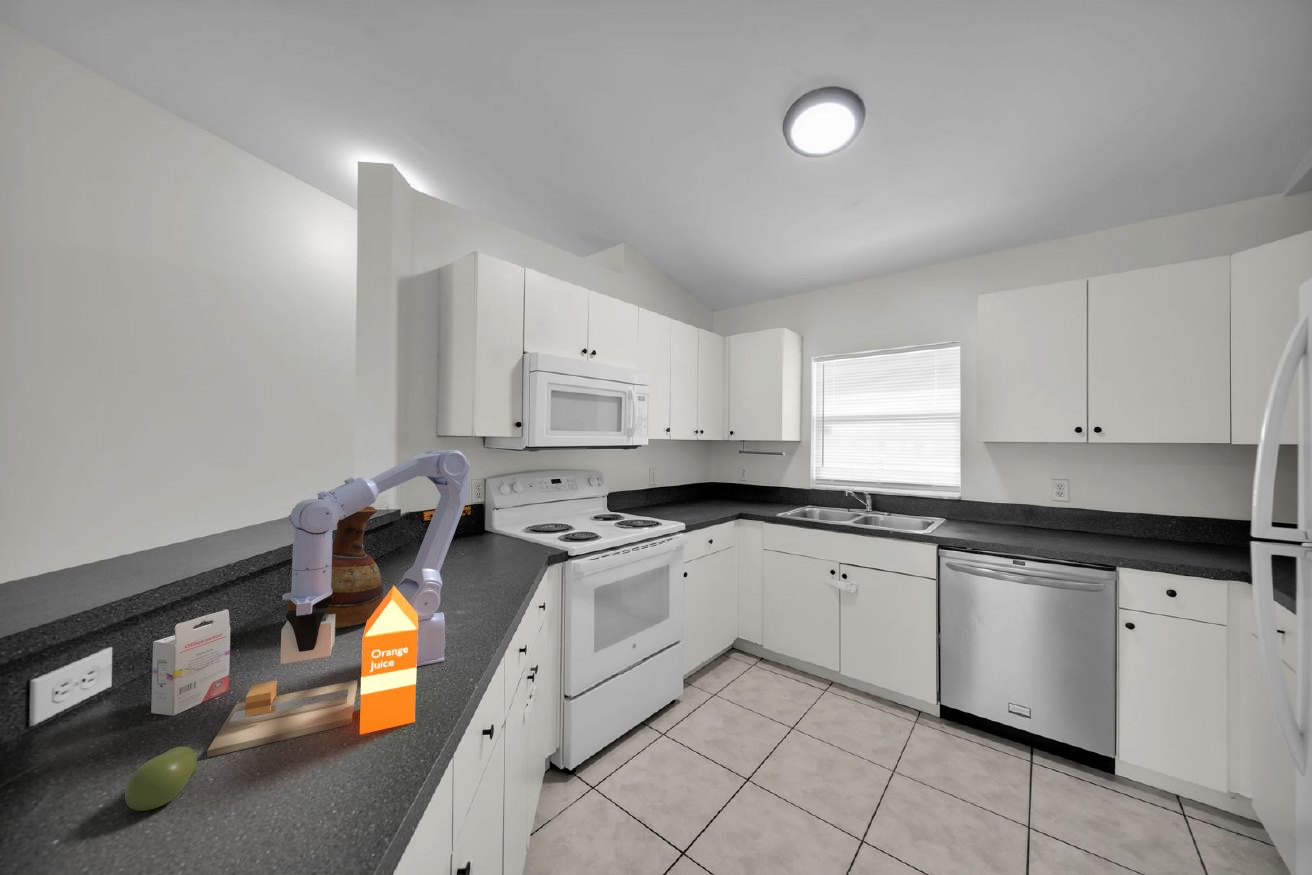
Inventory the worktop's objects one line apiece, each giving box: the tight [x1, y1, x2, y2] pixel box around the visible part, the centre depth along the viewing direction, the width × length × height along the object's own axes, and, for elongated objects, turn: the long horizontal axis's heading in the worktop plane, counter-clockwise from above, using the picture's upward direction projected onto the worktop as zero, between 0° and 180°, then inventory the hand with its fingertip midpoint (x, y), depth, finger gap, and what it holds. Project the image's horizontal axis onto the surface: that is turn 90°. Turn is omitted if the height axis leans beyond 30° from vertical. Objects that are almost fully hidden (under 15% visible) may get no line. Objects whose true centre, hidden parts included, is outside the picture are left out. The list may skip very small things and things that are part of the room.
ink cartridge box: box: [150, 609, 231, 717], centre depth 80 cm, size 9×5×15 cm, turn 168°
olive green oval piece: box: [124, 746, 198, 812], centre depth 59 cm, size 6×5×10 cm
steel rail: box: [229, 689, 349, 728], centre depth 76 cm, size 15×3×1 cm, turn 119°
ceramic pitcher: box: [286, 505, 384, 629], centre depth 117 cm, size 20×20×30 cm
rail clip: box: [245, 679, 278, 717], centre depth 74 cm, size 3×4×3 cm, turn 29°
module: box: [279, 614, 336, 665], centre depth 83 cm, size 7×5×6 cm
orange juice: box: [359, 584, 418, 735], centre depth 77 cm, size 8×9×20 cm
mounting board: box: [206, 679, 358, 758], centre depth 76 cm, size 17×14×1 cm
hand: (309, 644), depth 83 cm, fingers closed on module, 5 cm apart
